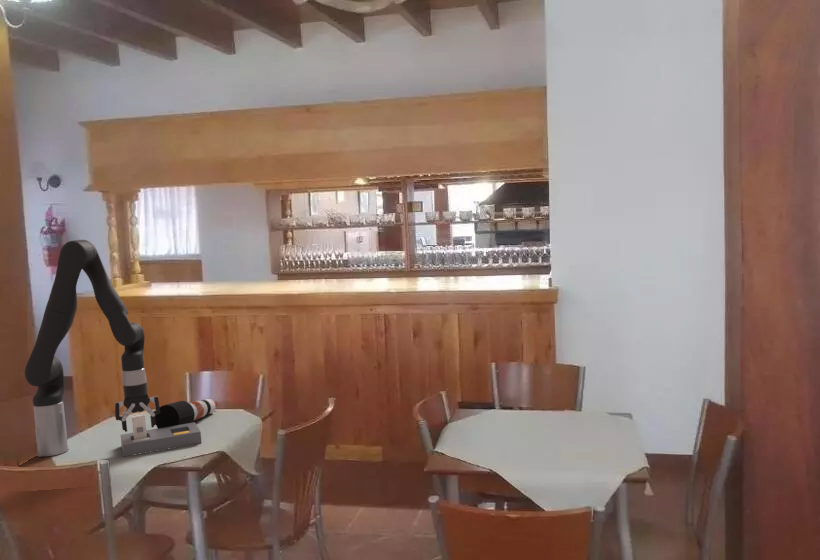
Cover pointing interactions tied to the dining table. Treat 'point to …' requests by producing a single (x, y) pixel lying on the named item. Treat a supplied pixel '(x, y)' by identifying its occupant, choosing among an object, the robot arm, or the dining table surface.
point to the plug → (139, 427)
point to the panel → (161, 439)
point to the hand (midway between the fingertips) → (139, 429)
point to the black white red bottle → (184, 412)
